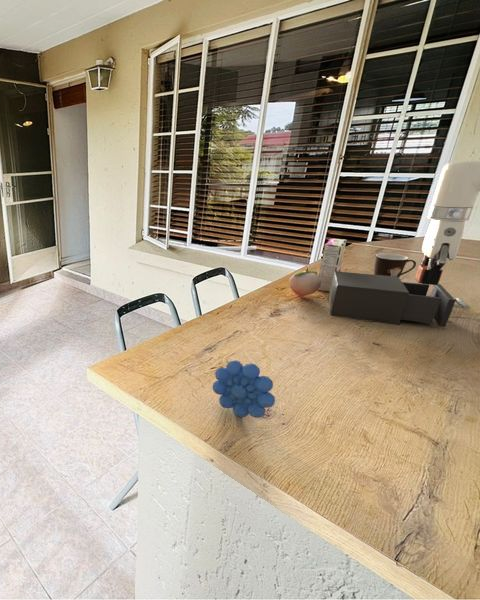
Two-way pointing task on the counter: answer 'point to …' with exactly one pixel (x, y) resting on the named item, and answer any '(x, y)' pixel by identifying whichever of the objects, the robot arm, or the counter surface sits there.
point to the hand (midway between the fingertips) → (426, 280)
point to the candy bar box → (331, 262)
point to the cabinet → (367, 297)
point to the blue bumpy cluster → (243, 389)
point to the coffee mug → (391, 265)
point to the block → (421, 272)
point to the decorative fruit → (305, 282)
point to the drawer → (430, 304)
